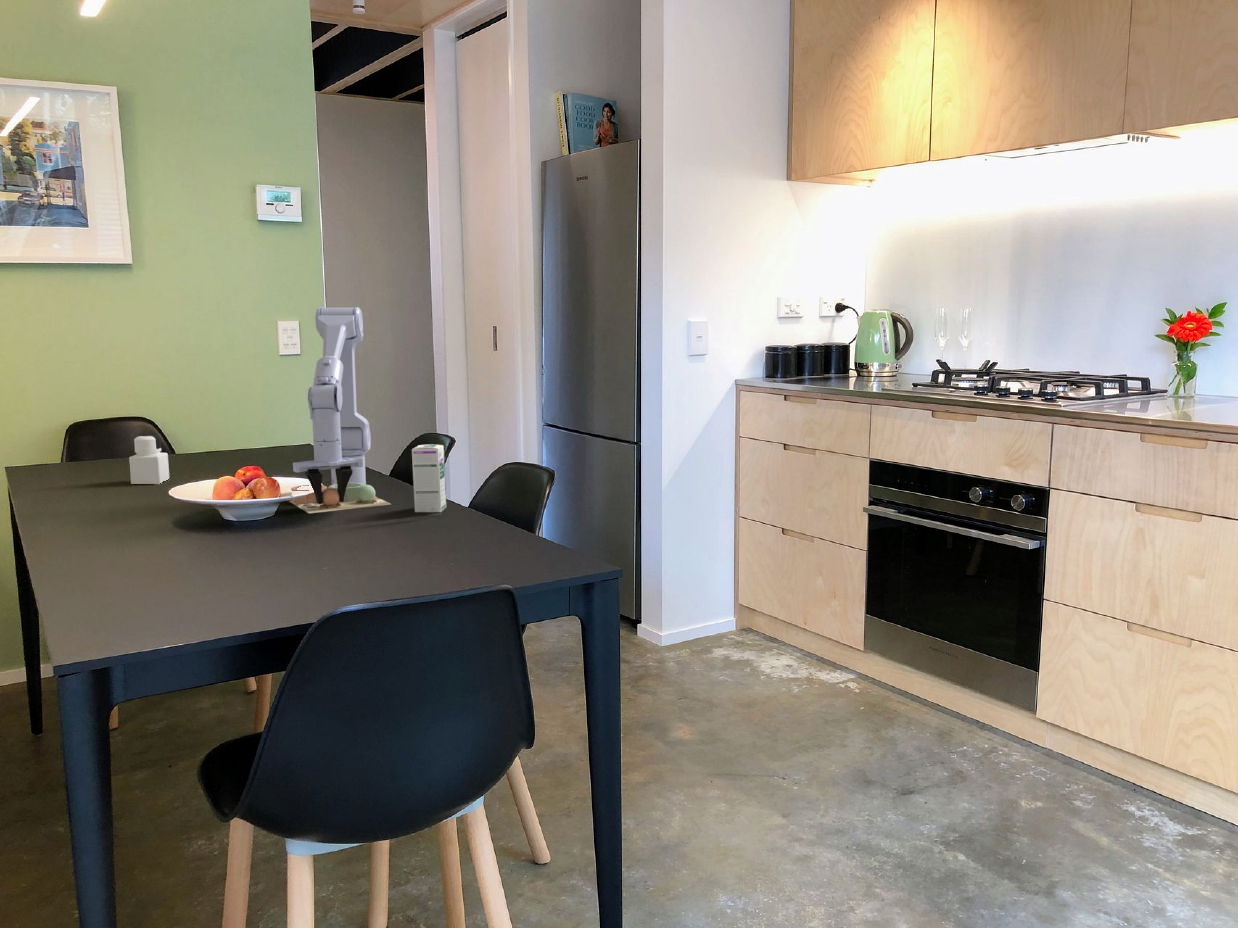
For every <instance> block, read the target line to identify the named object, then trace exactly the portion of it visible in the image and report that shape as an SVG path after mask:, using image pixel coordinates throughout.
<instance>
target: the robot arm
mask: <svg viewBox="0 0 1238 928" xmlns="http://www.w3.org/2000/svg"><path fill="white" fill-rule="evenodd" d="M314 316H315V318H314V319H315V328H316V332H317V333H318V334H319V337H321V339H322V340H323V341H322V342H323V343H322V345H323V347H322V357H320V358H319V359H318V360H317V362H316V365H315V371H314V377H313V383H312V386H310V387H309V388H308V390H307V391H308V392H307V403H308V409H309V417H310V420H311V421H312V422H311V423H312V438H313V456H314V457H313V458H314V459H313V460H304V461H297V462H292V470H293V471H292V472H294V473H301V472H304V474H305V477H307V479H308V481H309V484H310V485H311V486H312V488H313V490H314V493H315V497H316V501H317V503H318V504H323V498H322V485H323V474H322V473H321V471H323V470H330V473H331V485H334V484H337V491H338V493H339V496H340V499H339V501H340V502H344V496H345V491H346V487H347V484H348V483H362V484H364V485H367V481H366V456H365V454H366V453H368V452H369V451H370V449H371V446H372V445H371V443H372V439H371V437H372V436H371V430H370V422H369V420H368V419H367V418H366V417H364V416H362V414H360V413H358V412H357V408H358V407H357V383H356V380H357V379H356V362H355V361H356V357H355V353H356V352H355V351H356V346H357V344H359V343H362V342H363V338H364V320H363V312H362V310H361V308H360V307H358V306H355V307H323V306H319V307H318V308H317V309H316V311H315V315H314ZM331 485H329V486H327V488H330V486H331Z"/></svg>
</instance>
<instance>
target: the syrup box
mask: <svg viewBox="0 0 1238 928" xmlns="http://www.w3.org/2000/svg"><path fill="white" fill-rule="evenodd" d="M444 448H445V447H444V445H443V444H435V443H434V444H433V443H430V444H427V443H426V444H420V445H419V444H418V445H417V446H415V447H414V448H412V449H411V458H412V459H411V460H412V481H413V482H412V483H413V485H412V486H413V499H414V500H413V501H414V513H429V515H433V516H442V514H443V512H444V510H445V509H446V508H447V491H446V470H445V469H446V467H445V466H446V465H445V449H444ZM430 513H433V514H430Z"/></svg>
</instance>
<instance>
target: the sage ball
mask: <svg viewBox="0 0 1238 928" xmlns="http://www.w3.org/2000/svg"><path fill="white" fill-rule="evenodd" d="M357 497H358V499H359V500H360V501H362V502H371V501H372V500H373V499H374V498H375V497H376V490H375V488H374V487H373V486H372V485H370V484H366V485H362V486H361V487H359V489H358V490H357Z"/></svg>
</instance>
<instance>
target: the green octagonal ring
mask: <svg viewBox="0 0 1238 928" xmlns="http://www.w3.org/2000/svg"><path fill="white" fill-rule="evenodd" d="M362 485H364V484H362V483H348V484H347V487H346V491H345V496H344V502H348V501H358V500H359V499H358V497H357V490H358V489H359V487H361V486H362ZM329 486H330V488H333V489H335V490H337V484H334V485H332V484H331V485H329Z"/></svg>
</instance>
